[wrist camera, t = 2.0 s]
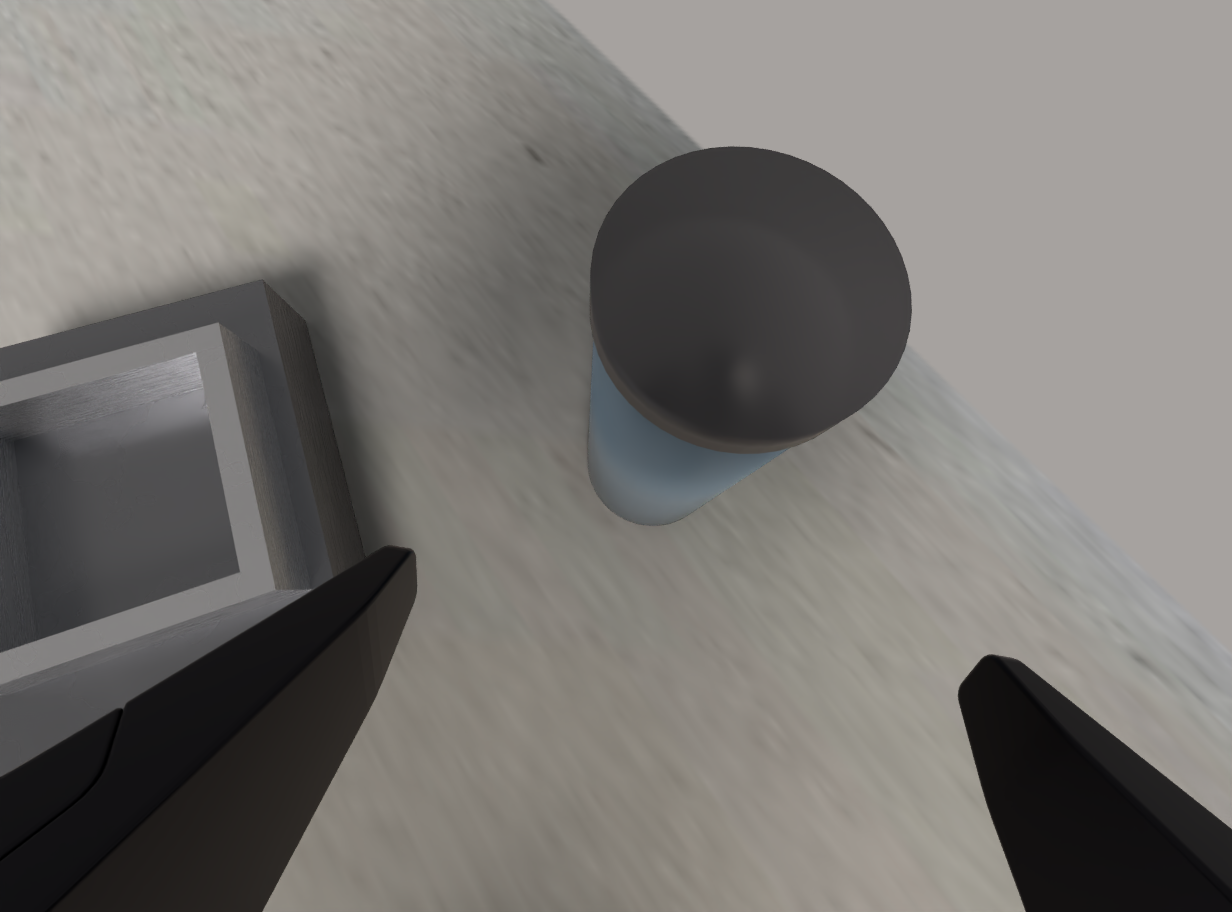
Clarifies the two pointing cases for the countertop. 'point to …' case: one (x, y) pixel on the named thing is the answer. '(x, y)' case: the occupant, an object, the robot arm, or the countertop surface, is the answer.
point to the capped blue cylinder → (732, 324)
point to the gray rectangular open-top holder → (156, 501)
